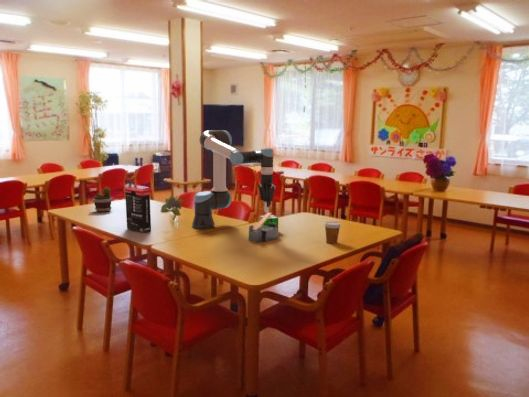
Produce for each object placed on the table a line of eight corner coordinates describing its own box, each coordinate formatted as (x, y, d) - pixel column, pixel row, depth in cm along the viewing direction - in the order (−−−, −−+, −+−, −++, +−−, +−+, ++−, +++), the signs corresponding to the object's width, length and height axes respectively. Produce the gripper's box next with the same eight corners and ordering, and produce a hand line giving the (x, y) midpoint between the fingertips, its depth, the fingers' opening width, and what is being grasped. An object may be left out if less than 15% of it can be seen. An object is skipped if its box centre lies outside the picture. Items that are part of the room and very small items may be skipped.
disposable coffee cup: (340, 241, 276) (341, 222, 274) (338, 245, 267) (339, 225, 265) (325, 239, 279) (325, 220, 276) (322, 243, 270) (323, 224, 267)
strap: (251, 230, 274) (251, 228, 273) (266, 213, 284) (266, 211, 283) (258, 232, 271) (257, 230, 270) (273, 214, 281) (272, 212, 280)
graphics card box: (152, 231, 294) (150, 189, 289) (143, 233, 288) (142, 191, 283) (134, 227, 303) (132, 187, 298) (125, 229, 297) (124, 188, 292)
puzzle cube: (273, 229, 303) (273, 214, 301) (278, 233, 294) (278, 218, 292) (258, 230, 300) (259, 215, 298) (263, 234, 291) (263, 218, 289)
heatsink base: (246, 239, 276) (246, 225, 275) (265, 233, 291) (265, 220, 290) (261, 243, 269) (261, 228, 267) (280, 236, 284) (280, 222, 282)
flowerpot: (95, 213, 343) (93, 187, 339) (92, 210, 356) (90, 185, 352) (115, 212, 349) (113, 186, 346) (111, 208, 363) (110, 183, 359)
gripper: (254, 173, 276) (254, 211, 280) (271, 175, 268) (271, 214, 272) (262, 172, 282) (262, 209, 286) (279, 174, 274) (278, 212, 278)
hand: (266, 211), depth 279 cm, fingers closed
